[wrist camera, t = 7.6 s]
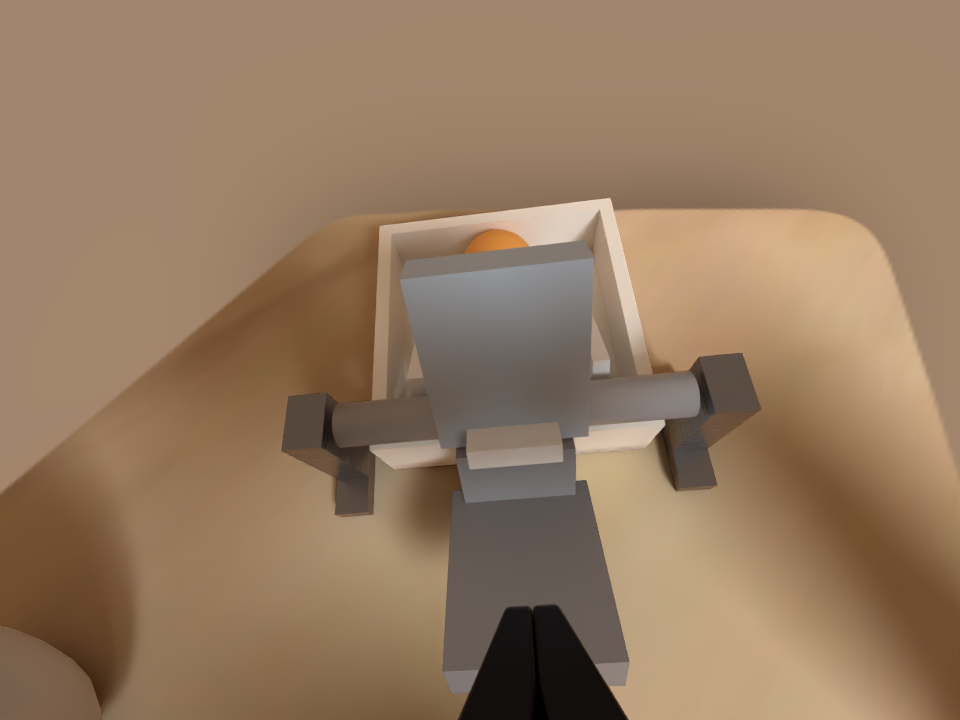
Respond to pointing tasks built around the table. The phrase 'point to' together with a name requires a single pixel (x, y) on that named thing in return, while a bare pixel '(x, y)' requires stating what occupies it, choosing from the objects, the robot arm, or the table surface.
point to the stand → (685, 438)
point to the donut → (42, 682)
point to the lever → (515, 437)
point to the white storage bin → (536, 228)
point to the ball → (496, 241)
